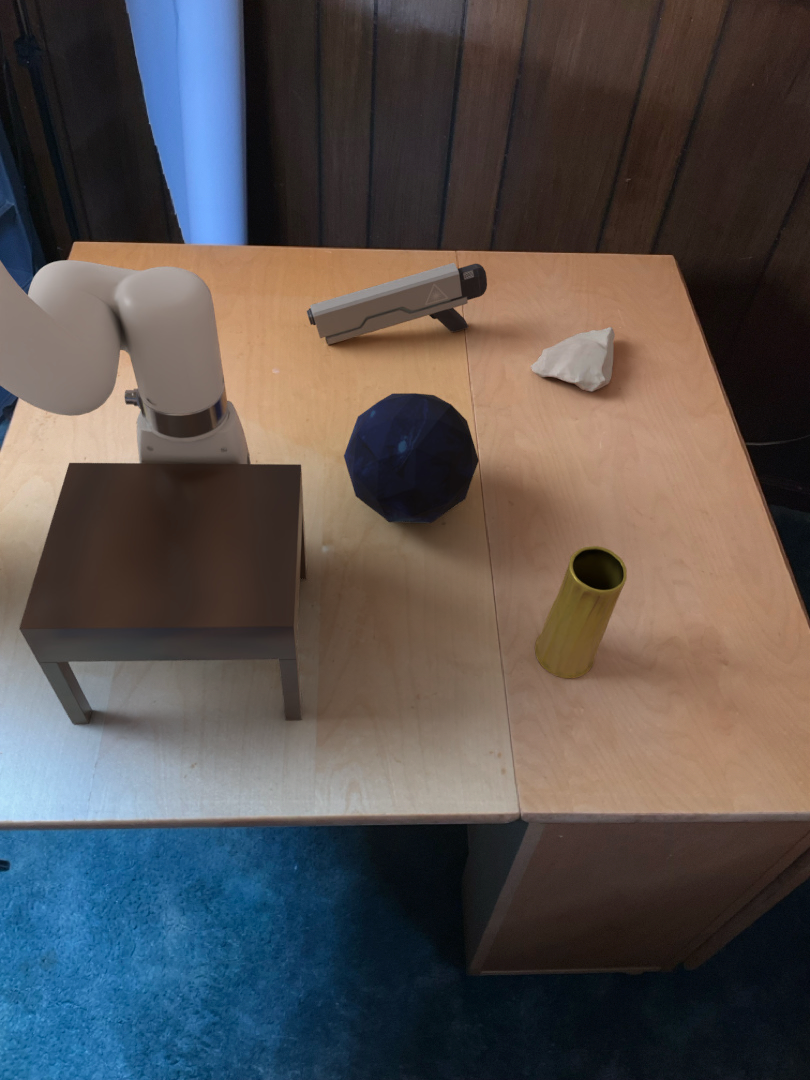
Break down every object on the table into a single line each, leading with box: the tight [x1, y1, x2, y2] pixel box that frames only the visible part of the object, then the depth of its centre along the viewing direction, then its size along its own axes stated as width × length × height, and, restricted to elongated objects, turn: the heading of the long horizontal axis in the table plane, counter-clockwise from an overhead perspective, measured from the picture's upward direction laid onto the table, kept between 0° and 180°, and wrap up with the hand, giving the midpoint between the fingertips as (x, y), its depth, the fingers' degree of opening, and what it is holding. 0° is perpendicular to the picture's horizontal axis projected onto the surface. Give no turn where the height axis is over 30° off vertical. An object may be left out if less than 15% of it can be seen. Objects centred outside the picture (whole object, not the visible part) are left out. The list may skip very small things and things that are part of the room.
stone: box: [530, 326, 616, 393], centre depth 112 cm, size 11×4×15 cm
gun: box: [306, 262, 488, 346], centre depth 112 cm, size 2×25×10 cm, turn 104°
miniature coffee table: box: [18, 462, 308, 725], centre depth 75 cm, size 21×20×16 cm
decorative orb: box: [343, 392, 480, 524], centre depth 89 cm, size 14×15×15 cm
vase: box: [534, 545, 628, 679], centre depth 77 cm, size 6×6×14 cm
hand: (210, 531), depth 88 cm, fingers closed
